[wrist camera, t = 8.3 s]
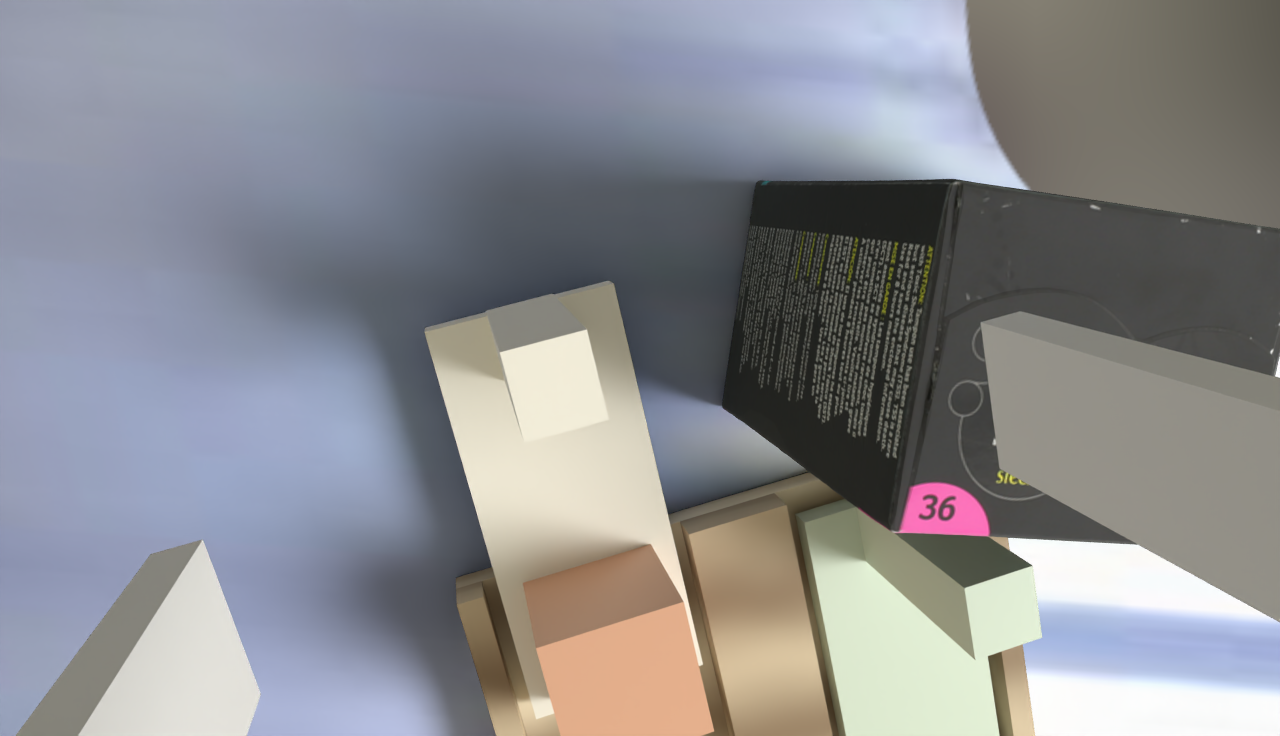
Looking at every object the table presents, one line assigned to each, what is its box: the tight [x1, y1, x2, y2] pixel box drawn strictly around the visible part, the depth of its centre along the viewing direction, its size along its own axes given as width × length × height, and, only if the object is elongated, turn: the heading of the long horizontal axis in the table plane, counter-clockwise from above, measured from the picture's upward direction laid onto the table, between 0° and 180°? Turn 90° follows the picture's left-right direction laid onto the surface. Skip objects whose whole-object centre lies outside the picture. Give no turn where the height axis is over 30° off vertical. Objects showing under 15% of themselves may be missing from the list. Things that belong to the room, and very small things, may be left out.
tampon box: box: [722, 179, 1280, 544], centre depth 31 cm, size 11×9×15 cm
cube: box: [523, 544, 714, 736], centre depth 33 cm, size 5×5×5 cm
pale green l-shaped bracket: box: [795, 499, 1042, 736], centre depth 36 cm, size 16×7×9 cm, turn 13°
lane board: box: [456, 472, 1035, 736], centre depth 39 cm, size 18×22×4 cm
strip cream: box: [425, 281, 703, 719], centre depth 31 cm, size 16×7×9 cm, turn 13°
